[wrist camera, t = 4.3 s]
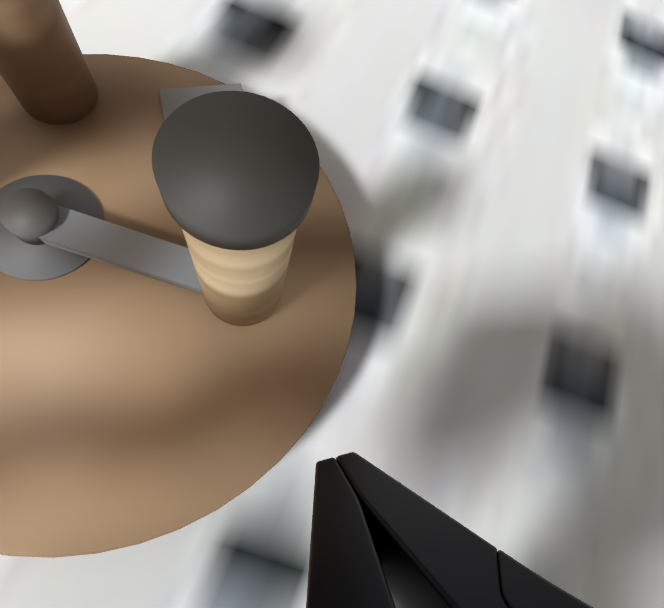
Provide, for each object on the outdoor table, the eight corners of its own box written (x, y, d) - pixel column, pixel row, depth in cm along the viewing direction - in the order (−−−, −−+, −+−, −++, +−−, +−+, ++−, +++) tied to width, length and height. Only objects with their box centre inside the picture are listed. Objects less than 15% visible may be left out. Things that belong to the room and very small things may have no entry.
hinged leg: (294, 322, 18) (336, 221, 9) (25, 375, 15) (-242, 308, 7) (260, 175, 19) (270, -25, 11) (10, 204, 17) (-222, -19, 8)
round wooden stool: (393, 458, 20) (568, 490, 9) (-160, 619, 15) (-1209, 1099, 4) (292, 81, 24) (328, -199, 13) (-154, 113, 19) (-645, -279, 9)
